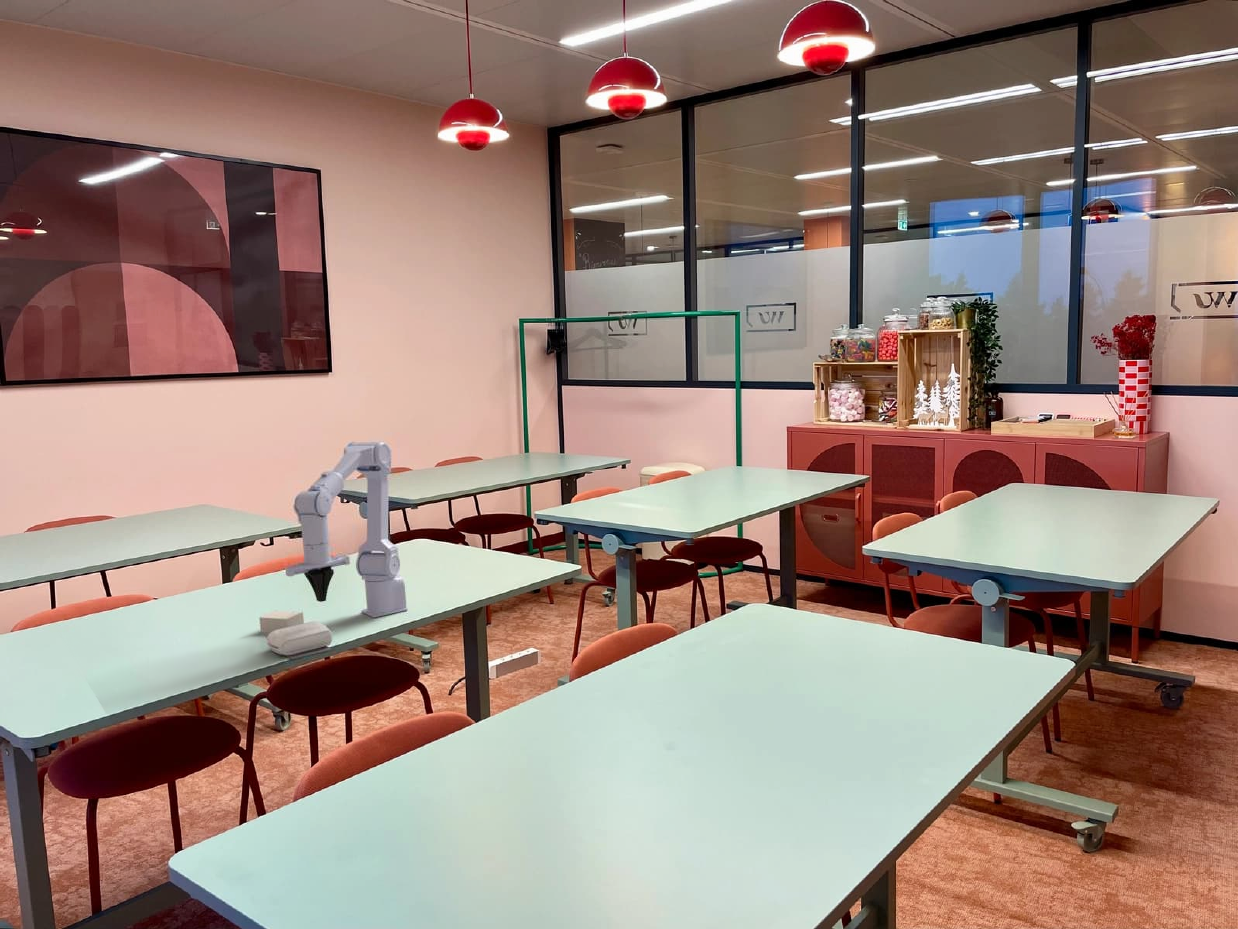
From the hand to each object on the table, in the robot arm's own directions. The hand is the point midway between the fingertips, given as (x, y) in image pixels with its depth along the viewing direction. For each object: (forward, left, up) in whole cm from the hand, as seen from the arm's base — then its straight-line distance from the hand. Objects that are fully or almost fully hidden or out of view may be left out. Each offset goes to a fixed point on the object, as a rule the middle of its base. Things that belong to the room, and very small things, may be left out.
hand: (321, 600), depth 211 cm
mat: (+5, 0, -10) cm, 11 cm away
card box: (+4, -18, -10) cm, 21 cm away
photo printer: (0, 0, -8) cm, 8 cm away
